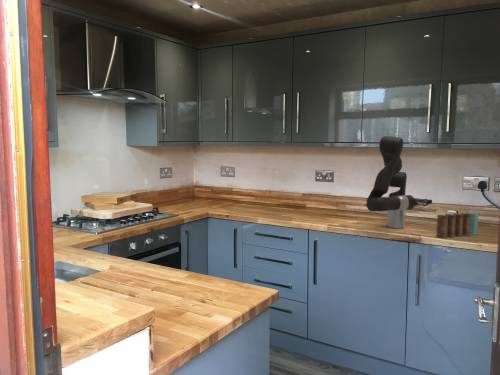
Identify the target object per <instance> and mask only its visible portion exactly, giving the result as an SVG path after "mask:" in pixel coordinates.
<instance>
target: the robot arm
mask: <svg viewBox="0 0 500 375" xmlns="http://www.w3.org/2000/svg"><path fill="white" fill-rule="evenodd" d="M378 147H379V152H380V155H381V157H382V159H383V166H384V167H383V168H382V169H381V170H379V172H378V173H377V175H376V177H375V180H374V184H373V188H372V189H371V192H370V193H369V195H368V197H367V199H366V208H367V210H368V211H370V212H386V226H387V228H391V229H404V228H405V227H404V225H405V211H412V210H413V209H414V208H415V207H421V206H422V207H427V206H429V205H432V204H433V199H428V198H418V197H414V196H413V195H410V194H406V189H407V177H408V176H407V172H405V171H401V170H402V168H403V160H402V158H401V156H402V155H401V154H402V153H403V148H404V139H403V137H398V136H392V135H391V136H390V135H384V136H382V137H381V139H379V145H378ZM389 188H399V190H397V191H394V192H390V193H389V194H388V192H389ZM386 194H388V196H384V195H386Z"/></svg>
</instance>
